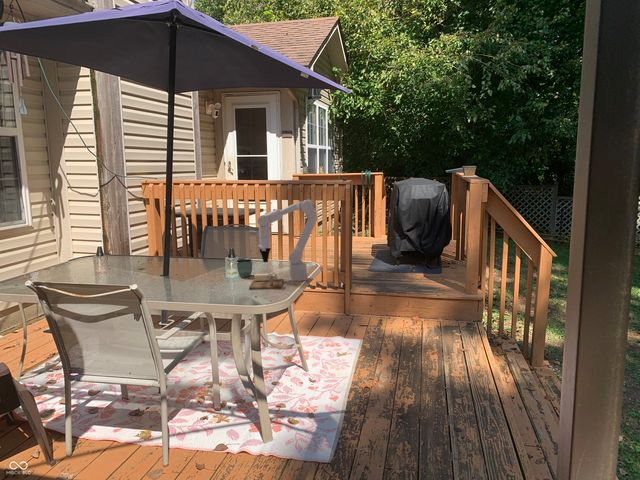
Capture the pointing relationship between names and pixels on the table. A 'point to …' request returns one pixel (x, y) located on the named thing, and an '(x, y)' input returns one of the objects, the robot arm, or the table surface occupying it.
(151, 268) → the table surface
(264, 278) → the link
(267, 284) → the hinge board
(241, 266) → the flower pot
